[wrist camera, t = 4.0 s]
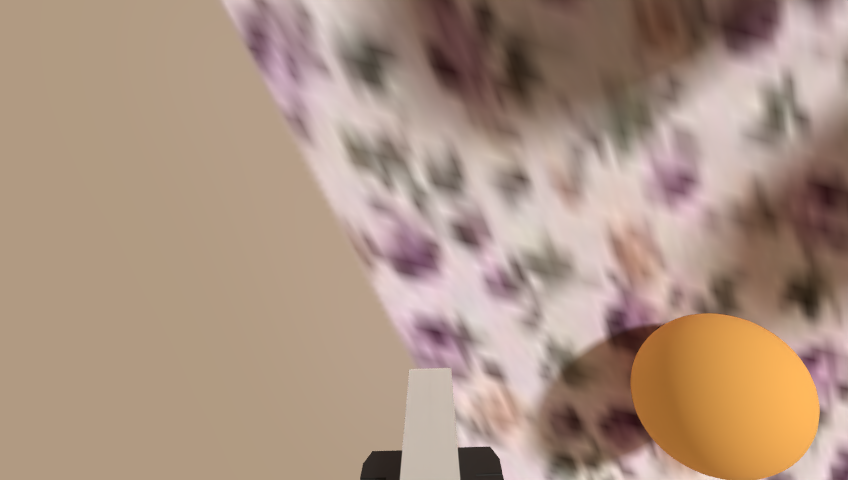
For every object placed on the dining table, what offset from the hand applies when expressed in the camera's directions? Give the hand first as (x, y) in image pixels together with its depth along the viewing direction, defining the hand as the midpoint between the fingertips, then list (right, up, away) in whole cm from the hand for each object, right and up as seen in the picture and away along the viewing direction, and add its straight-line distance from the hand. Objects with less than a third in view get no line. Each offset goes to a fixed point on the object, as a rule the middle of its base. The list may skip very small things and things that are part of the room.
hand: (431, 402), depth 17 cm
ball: (+10, +1, -1) cm, 10 cm away
